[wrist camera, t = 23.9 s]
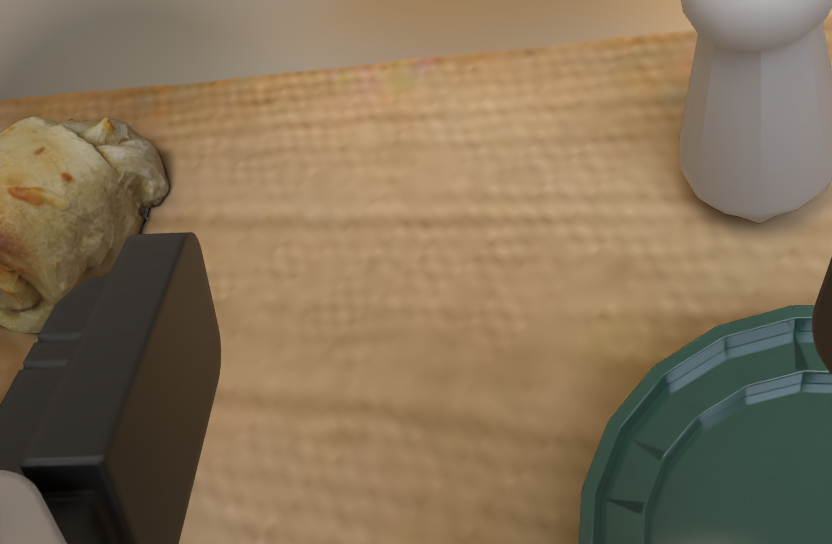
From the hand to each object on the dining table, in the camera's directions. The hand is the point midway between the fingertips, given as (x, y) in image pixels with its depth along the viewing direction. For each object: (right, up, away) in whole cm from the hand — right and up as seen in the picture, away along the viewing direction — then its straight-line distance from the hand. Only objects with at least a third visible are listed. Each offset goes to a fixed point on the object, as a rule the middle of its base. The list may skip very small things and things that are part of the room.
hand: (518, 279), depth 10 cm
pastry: (-21, +2, +36) cm, 42 cm away
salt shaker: (+13, +4, +22) cm, 26 cm away
